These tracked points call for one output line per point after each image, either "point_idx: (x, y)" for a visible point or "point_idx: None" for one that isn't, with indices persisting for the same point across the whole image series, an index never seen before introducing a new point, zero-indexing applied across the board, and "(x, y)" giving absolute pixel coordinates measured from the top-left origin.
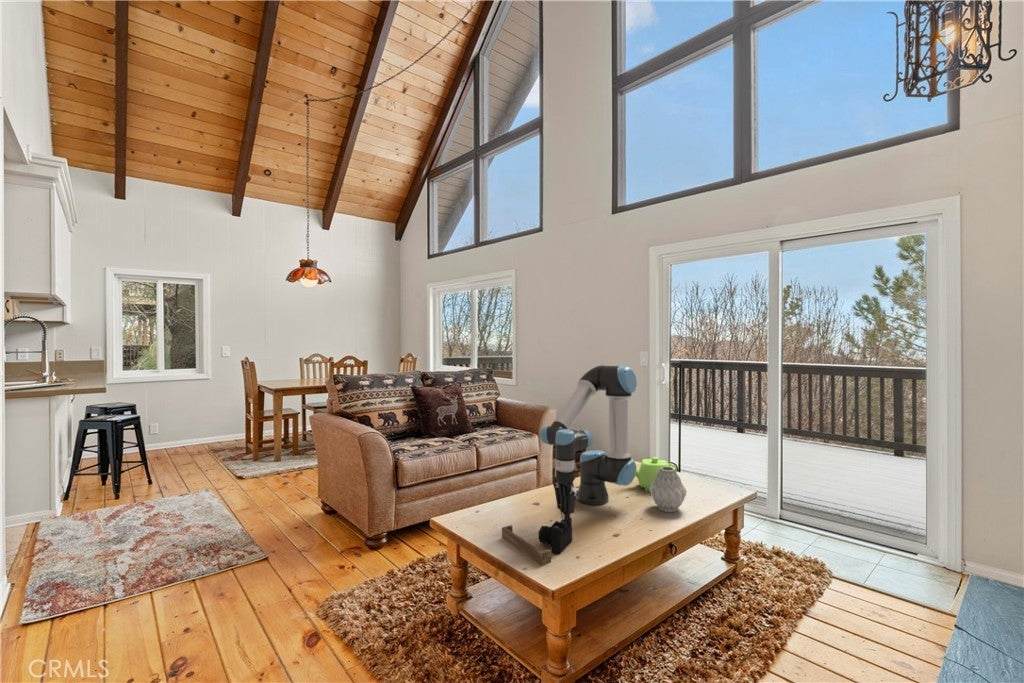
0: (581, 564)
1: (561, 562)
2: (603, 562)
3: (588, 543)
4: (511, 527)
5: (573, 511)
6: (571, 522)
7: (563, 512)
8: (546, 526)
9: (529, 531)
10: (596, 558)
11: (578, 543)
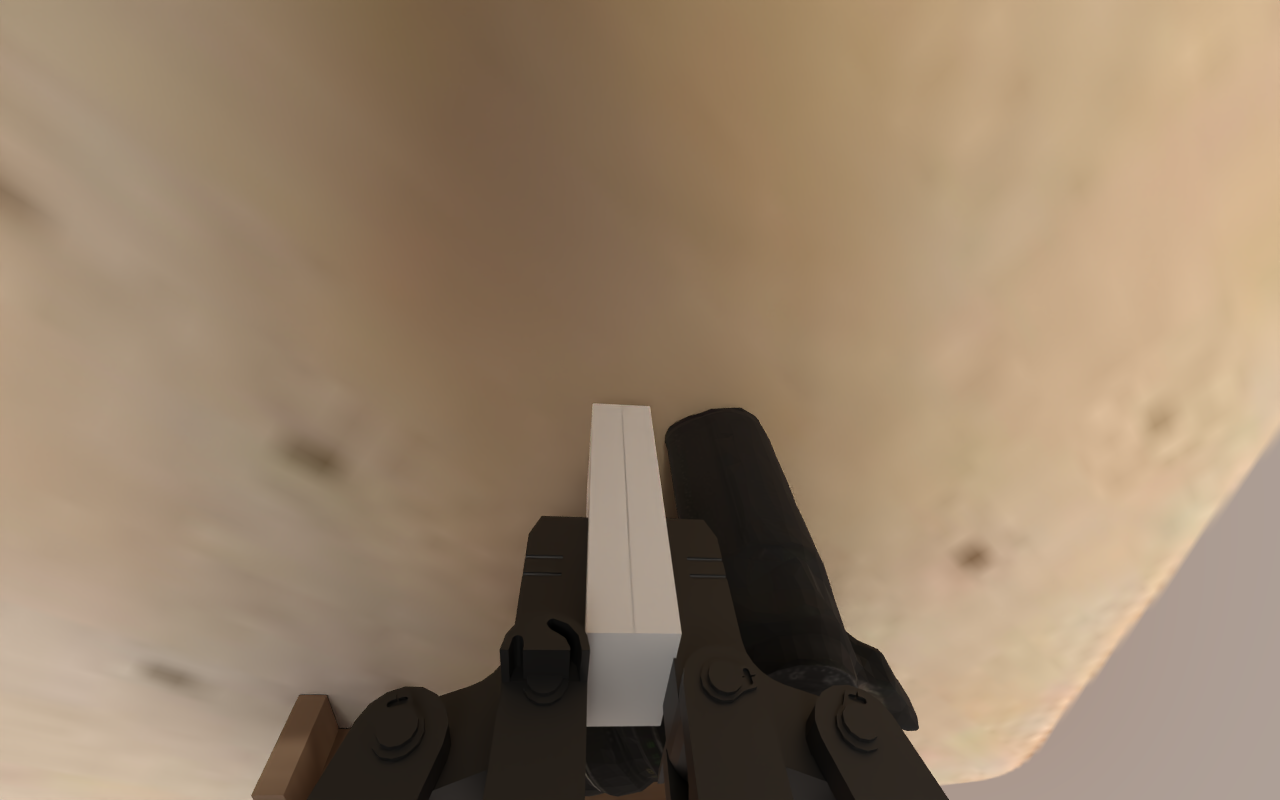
0: (1048, 596)
1: (904, 660)
2: (1220, 474)
3: (939, 314)
4: (291, 788)
5: (893, 740)
6: (898, 685)
7: (664, 775)
8: (618, 774)
9: (289, 577)
10: (1138, 471)
11: (841, 398)
